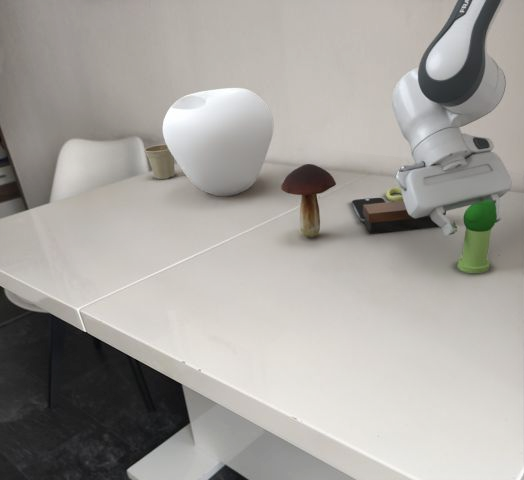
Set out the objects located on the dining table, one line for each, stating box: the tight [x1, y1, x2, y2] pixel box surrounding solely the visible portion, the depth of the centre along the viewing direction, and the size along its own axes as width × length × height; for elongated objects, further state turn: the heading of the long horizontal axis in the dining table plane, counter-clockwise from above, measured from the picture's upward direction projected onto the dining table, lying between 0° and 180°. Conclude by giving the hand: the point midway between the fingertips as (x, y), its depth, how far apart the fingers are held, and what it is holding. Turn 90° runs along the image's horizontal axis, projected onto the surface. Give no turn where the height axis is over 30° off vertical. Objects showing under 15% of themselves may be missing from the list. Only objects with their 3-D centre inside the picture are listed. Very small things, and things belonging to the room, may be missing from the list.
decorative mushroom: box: [280, 163, 337, 239], centre depth 110 cm, size 11×11×15 cm
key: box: [385, 187, 404, 202], centre depth 131 cm, size 7×12×2 cm, turn 110°
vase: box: [162, 87, 274, 197], centre depth 141 cm, size 28×27×25 cm
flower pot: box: [143, 143, 176, 180], centre depth 164 cm, size 9×9×9 cm
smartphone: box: [351, 197, 386, 224], centre depth 124 cm, size 8×1×15 cm
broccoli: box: [457, 200, 497, 274], centre depth 92 cm, size 6×5×12 cm
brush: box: [363, 201, 447, 234], centre depth 114 cm, size 16×6×4 cm, turn 93°
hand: (474, 227), depth 92 cm, fingers open, 8 cm apart
